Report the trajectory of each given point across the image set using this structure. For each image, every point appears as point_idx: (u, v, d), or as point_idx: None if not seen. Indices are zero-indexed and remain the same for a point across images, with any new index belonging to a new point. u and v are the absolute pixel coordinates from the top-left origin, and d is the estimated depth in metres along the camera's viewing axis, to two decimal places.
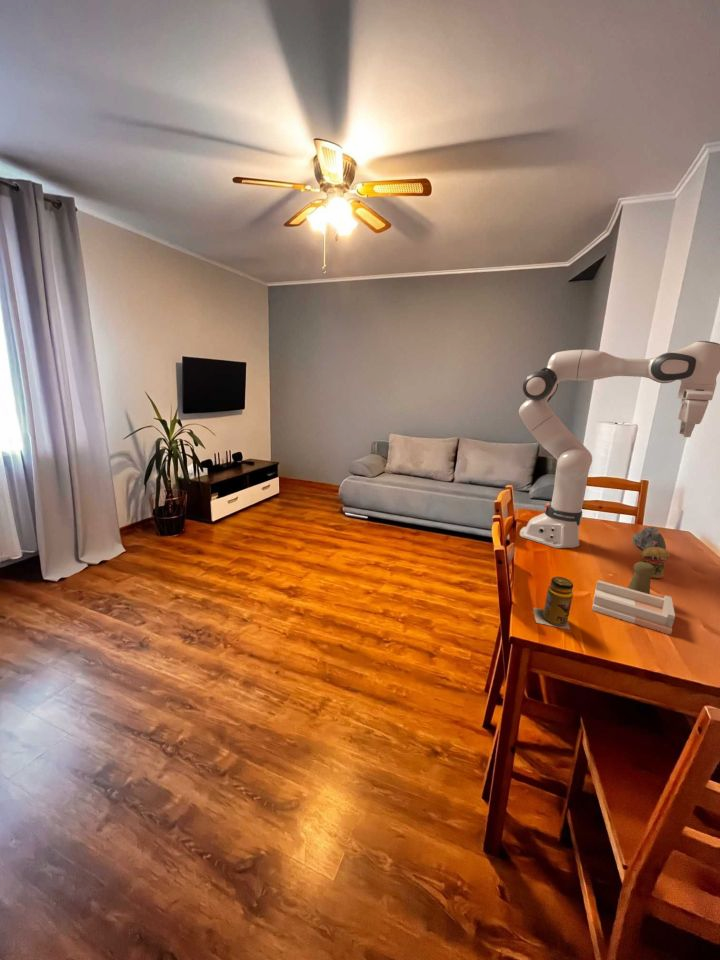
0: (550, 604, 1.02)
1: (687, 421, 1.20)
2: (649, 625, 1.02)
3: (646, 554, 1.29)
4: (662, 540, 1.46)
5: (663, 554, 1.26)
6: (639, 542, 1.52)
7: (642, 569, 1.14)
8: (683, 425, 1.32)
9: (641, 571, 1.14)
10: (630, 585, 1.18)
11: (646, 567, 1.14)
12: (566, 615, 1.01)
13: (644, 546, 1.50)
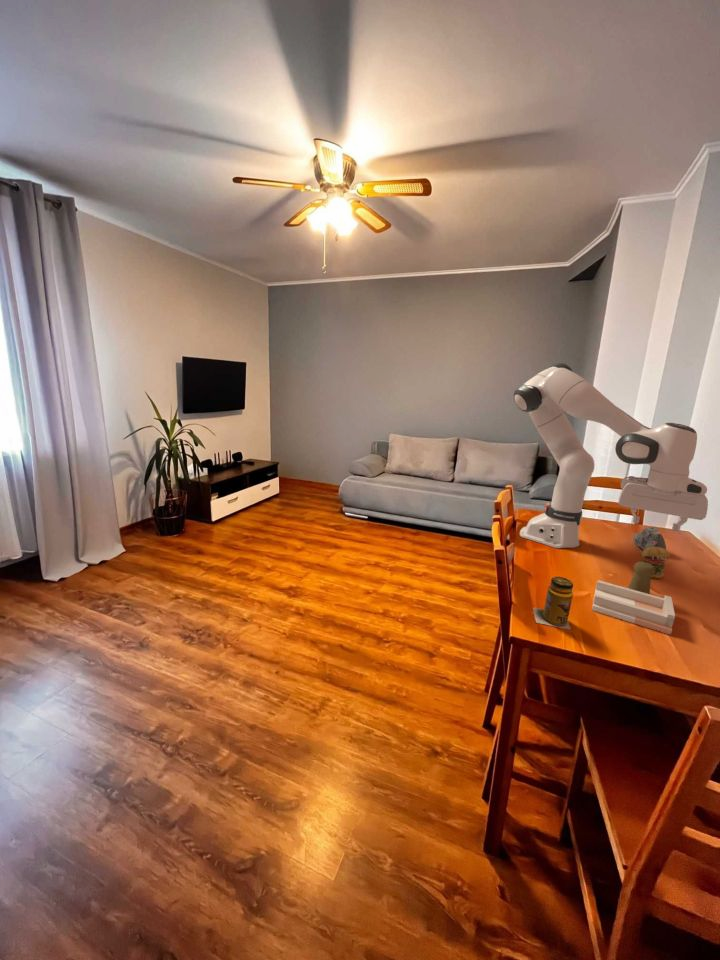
0: (550, 603, 1.02)
1: (703, 518, 1.04)
2: (649, 625, 1.02)
3: (646, 554, 1.29)
4: (662, 540, 1.46)
5: (663, 554, 1.26)
6: (639, 542, 1.52)
7: (642, 569, 1.14)
8: (634, 513, 1.14)
9: (641, 571, 1.14)
10: (630, 585, 1.18)
11: (646, 567, 1.14)
12: (566, 615, 1.01)
13: (644, 546, 1.50)
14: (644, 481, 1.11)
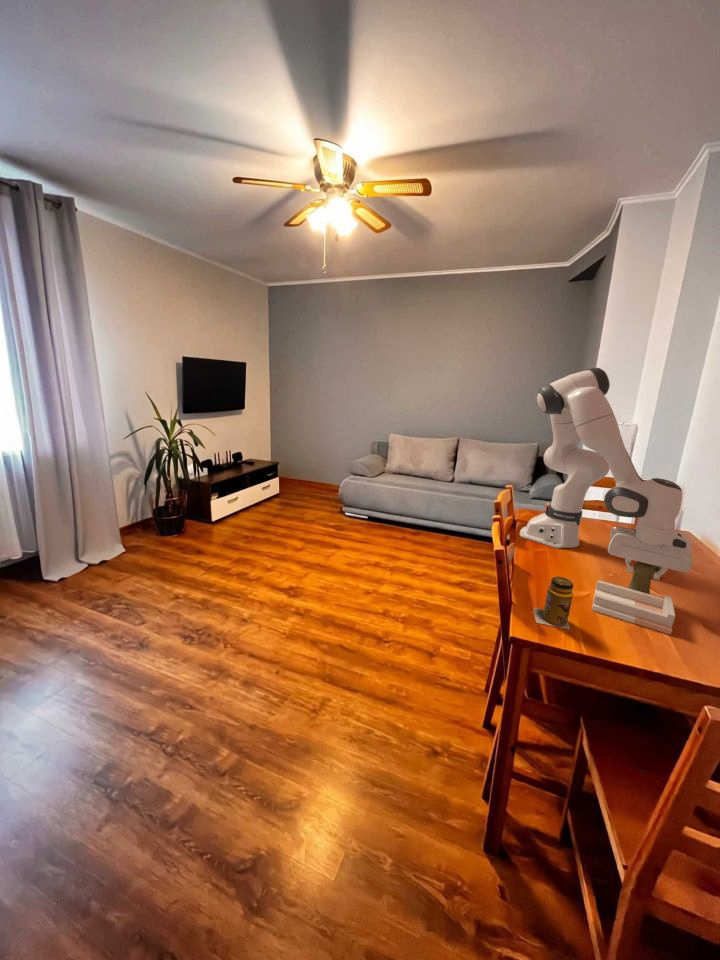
0: (550, 604, 1.02)
1: (688, 571, 1.09)
2: (649, 625, 1.02)
3: None
4: None
5: None
6: None
7: (642, 569, 1.14)
8: (629, 563, 1.18)
9: (641, 571, 1.14)
10: (630, 585, 1.18)
11: (646, 567, 1.14)
12: (566, 615, 1.01)
13: None
14: (632, 532, 1.15)
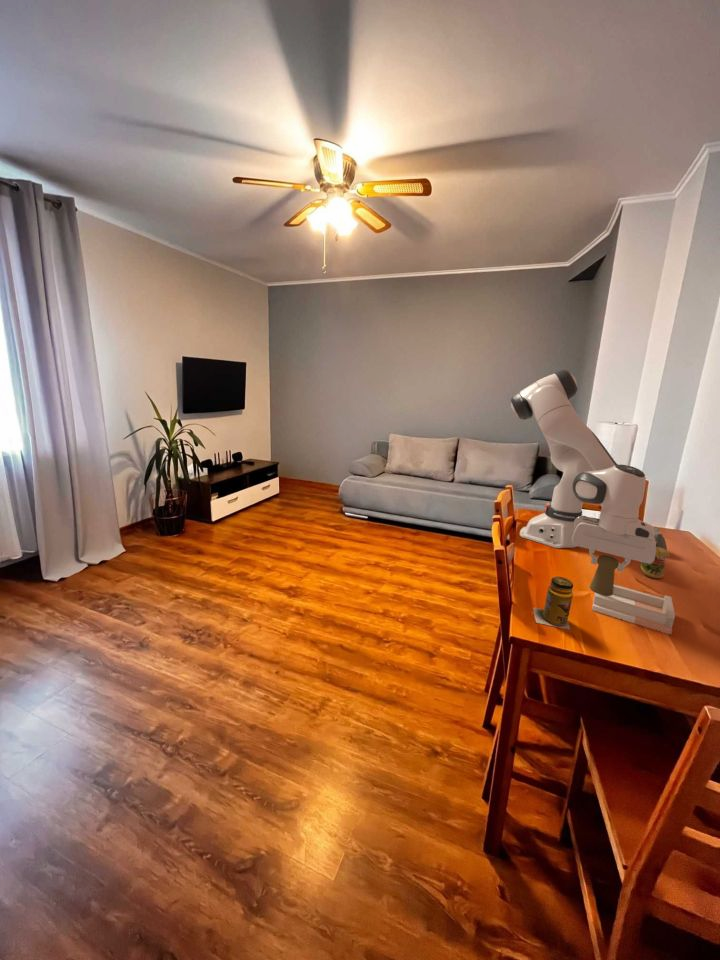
0: (550, 604, 1.02)
1: None
2: (649, 625, 1.02)
3: None
4: (663, 540, 1.46)
5: (663, 554, 1.26)
6: None
7: (605, 561, 1.09)
8: (592, 554, 1.13)
9: (604, 564, 1.10)
10: (594, 579, 1.13)
11: (609, 560, 1.09)
12: (566, 615, 1.01)
13: None
14: (596, 521, 1.10)
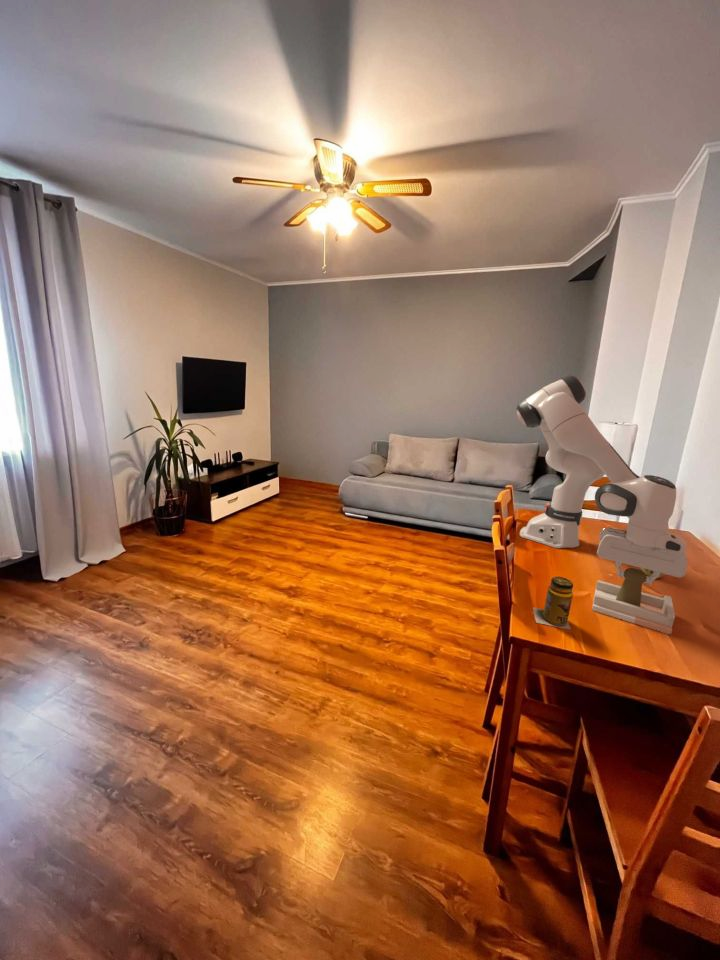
0: (550, 603, 1.02)
1: (682, 576, 1.00)
2: (649, 625, 1.02)
3: None
4: None
5: None
6: None
7: (632, 575, 1.06)
8: (619, 566, 1.09)
9: (631, 578, 1.06)
10: (620, 593, 1.10)
11: (637, 573, 1.06)
12: (566, 615, 1.01)
13: None
14: (623, 533, 1.07)
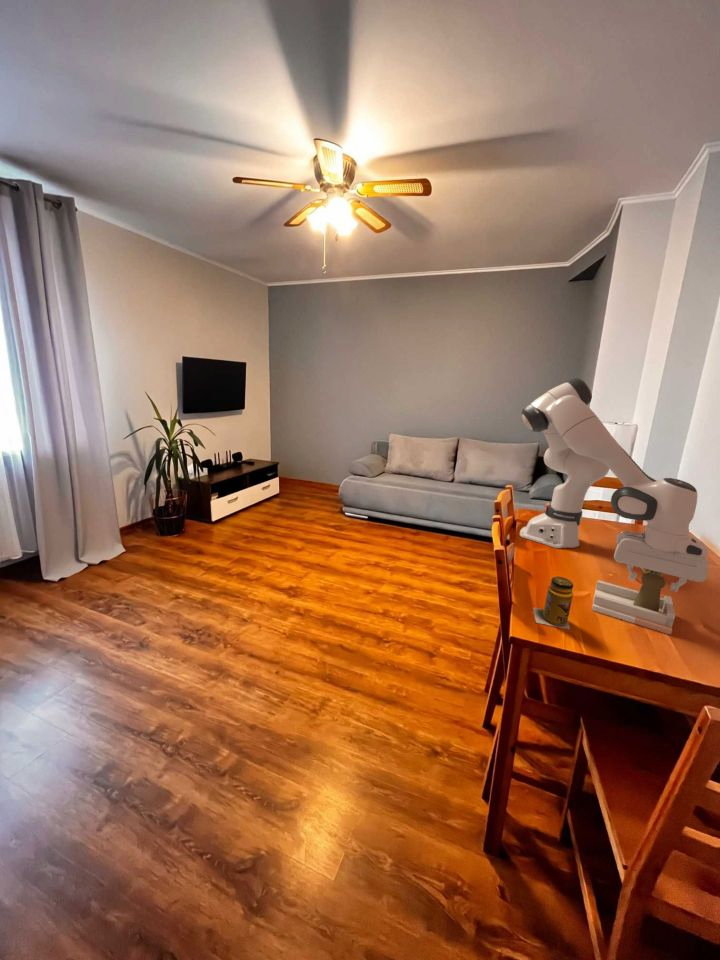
0: (550, 604, 1.02)
1: None
2: (649, 625, 1.02)
3: None
4: None
5: None
6: None
7: (651, 581, 1.04)
8: (631, 569, 1.08)
9: (650, 584, 1.04)
10: (638, 598, 1.08)
11: (656, 579, 1.04)
12: (566, 615, 1.01)
13: None
14: (641, 537, 1.05)
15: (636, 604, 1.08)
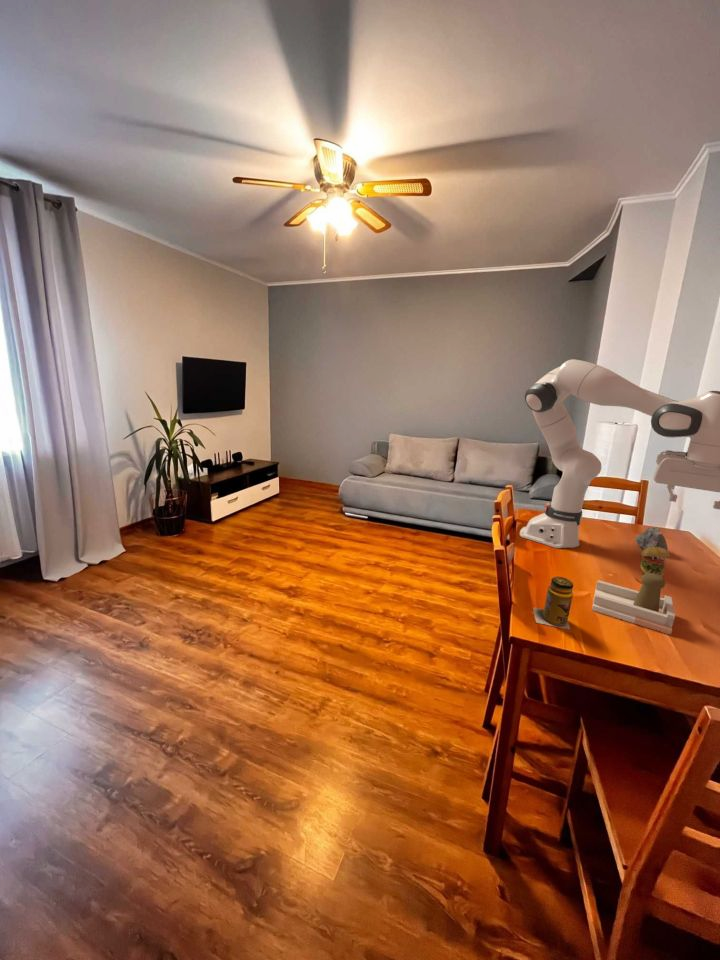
0: (550, 604, 1.02)
1: None
2: (649, 625, 1.02)
3: (646, 554, 1.29)
4: (663, 540, 1.46)
5: (663, 554, 1.26)
6: (641, 542, 1.52)
7: (651, 581, 1.04)
8: (671, 490, 1.06)
9: (650, 584, 1.04)
10: (638, 598, 1.08)
11: (656, 579, 1.04)
12: (566, 615, 1.01)
13: (646, 546, 1.50)
14: (683, 455, 1.02)
15: (636, 604, 1.08)
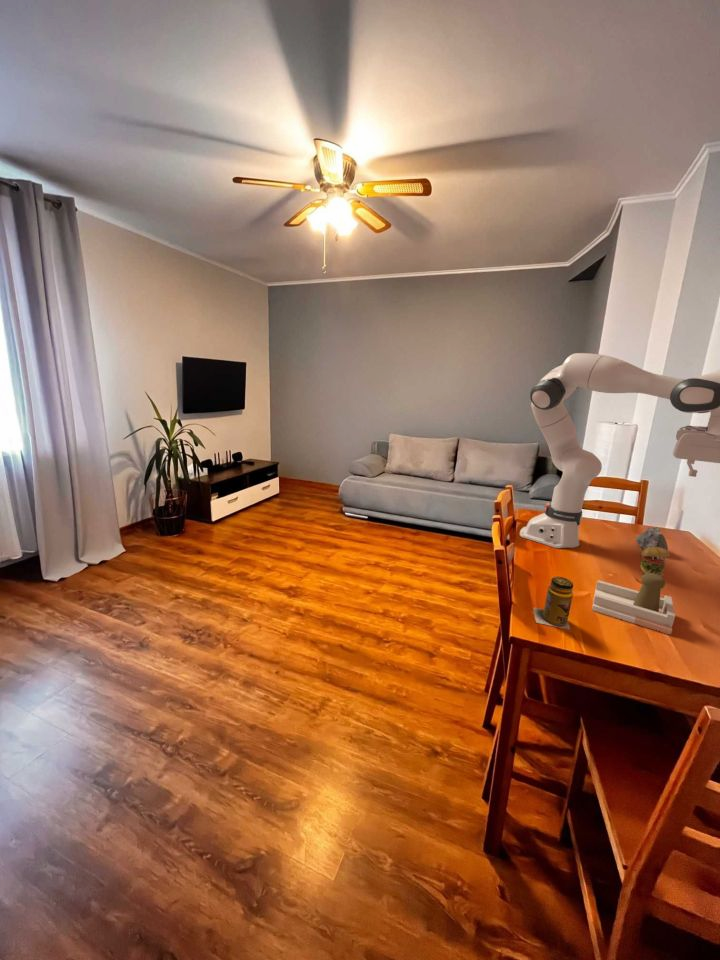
0: (550, 604, 1.02)
1: None
2: (649, 625, 1.02)
3: (646, 554, 1.29)
4: (664, 540, 1.46)
5: (663, 554, 1.26)
6: (641, 542, 1.52)
7: (651, 581, 1.04)
8: (691, 465, 1.06)
9: (650, 584, 1.04)
10: (638, 598, 1.08)
11: (656, 579, 1.04)
12: (566, 615, 1.01)
13: (646, 546, 1.50)
14: (703, 430, 1.03)
15: (636, 604, 1.08)
